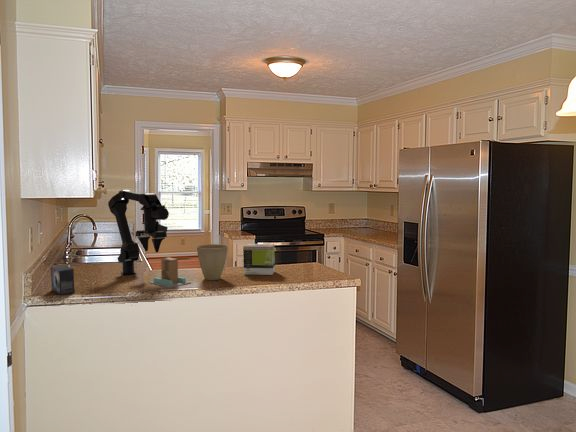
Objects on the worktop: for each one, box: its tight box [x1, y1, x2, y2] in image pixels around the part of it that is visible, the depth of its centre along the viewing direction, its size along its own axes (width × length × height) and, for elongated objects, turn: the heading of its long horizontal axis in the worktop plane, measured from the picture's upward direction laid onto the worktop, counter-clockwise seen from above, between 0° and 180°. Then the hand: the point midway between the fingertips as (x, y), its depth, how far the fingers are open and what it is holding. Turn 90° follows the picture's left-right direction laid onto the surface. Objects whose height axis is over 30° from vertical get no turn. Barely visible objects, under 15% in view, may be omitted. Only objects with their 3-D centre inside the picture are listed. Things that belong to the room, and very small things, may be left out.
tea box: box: [242, 243, 276, 276], centre depth 250 cm, size 15×10×15 cm, turn 84°
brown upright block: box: [160, 256, 179, 283], centre depth 226 cm, size 7×4×11 cm, turn 50°
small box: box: [50, 264, 76, 296], centre depth 208 cm, size 11×6×10 cm, turn 45°
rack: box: [147, 276, 192, 289], centre depth 226 cm, size 16×12×2 cm
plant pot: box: [196, 243, 229, 281], centre depth 236 cm, size 15×15×16 cm
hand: (151, 251), depth 235 cm, fingers open, 9 cm apart
